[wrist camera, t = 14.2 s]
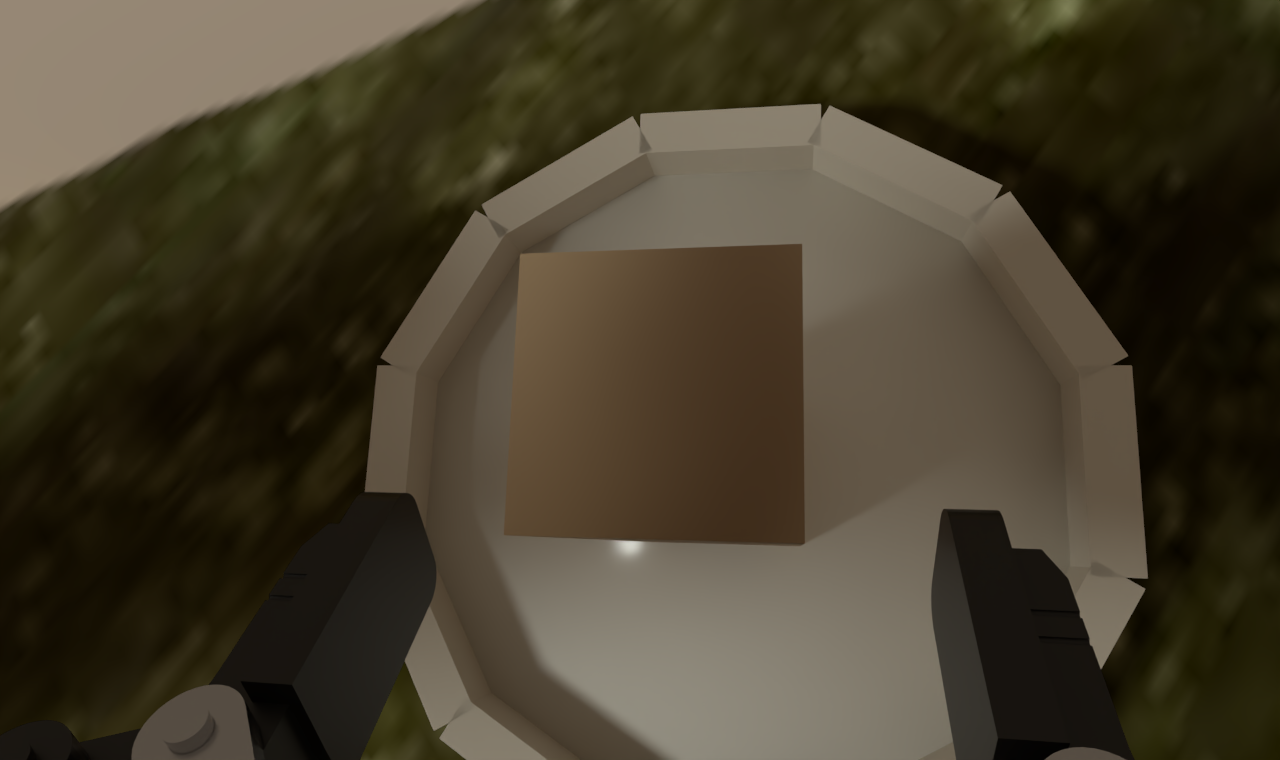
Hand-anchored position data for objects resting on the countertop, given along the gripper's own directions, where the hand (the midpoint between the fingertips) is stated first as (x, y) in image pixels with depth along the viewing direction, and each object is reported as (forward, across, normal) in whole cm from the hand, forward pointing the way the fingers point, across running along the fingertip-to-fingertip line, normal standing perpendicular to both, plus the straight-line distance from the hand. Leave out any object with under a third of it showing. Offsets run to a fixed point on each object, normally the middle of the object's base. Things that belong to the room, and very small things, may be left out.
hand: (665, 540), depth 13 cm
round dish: (+9, 0, +6) cm, 11 cm away
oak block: (+9, 0, +6) cm, 10 cm away
